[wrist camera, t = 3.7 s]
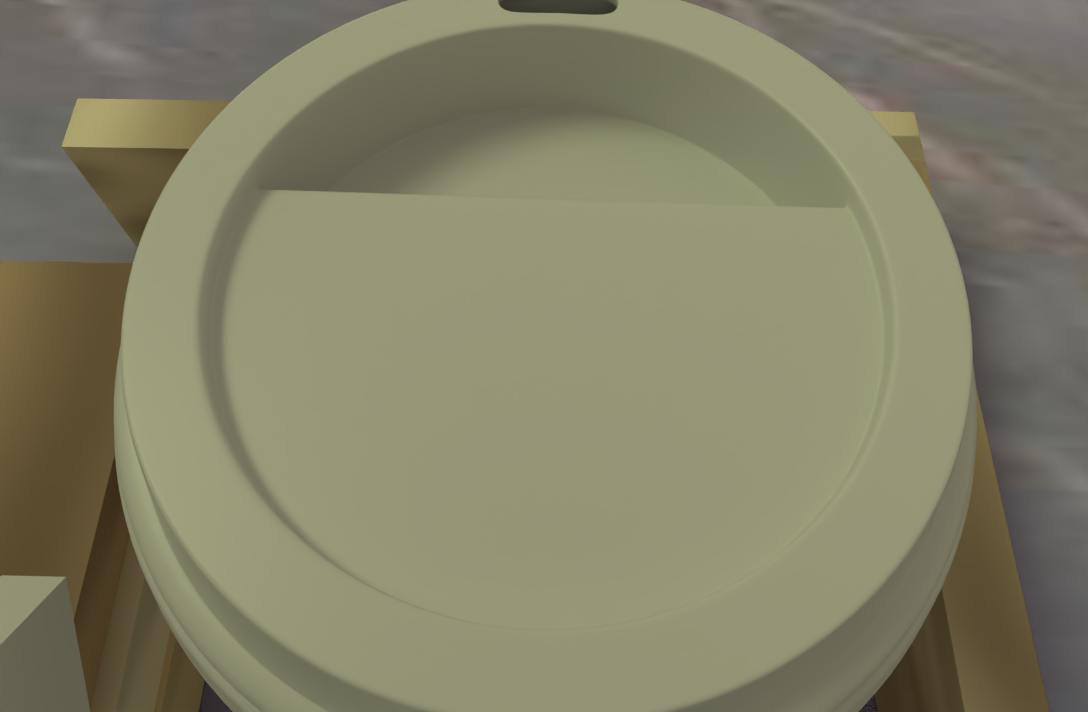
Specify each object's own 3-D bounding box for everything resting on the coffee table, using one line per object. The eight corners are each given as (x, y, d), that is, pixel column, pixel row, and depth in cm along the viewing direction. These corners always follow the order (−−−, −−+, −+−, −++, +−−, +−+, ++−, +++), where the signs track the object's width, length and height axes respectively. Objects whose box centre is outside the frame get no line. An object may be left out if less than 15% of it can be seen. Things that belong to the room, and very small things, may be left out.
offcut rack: (-103, 1140, 17) (-306, 1254, 13) (147, 201, 27) (77, 98, 23) (1024, 1159, 17) (1178, 1279, 13) (857, 213, 27) (914, 112, 23)
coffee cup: (780, 496, 23) (1137, 84, 9) (650, 882, 19) (936, 1144, 5) (456, 361, 24) (357, -156, 11) (275, 691, 20) (-229, 521, 7)
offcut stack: (-62, 966, 18) (-282, 1036, 13) (116, 302, 25) (16, 188, 20) (153, 970, 18) (11, 1040, 13) (270, 304, 25) (207, 191, 20)
